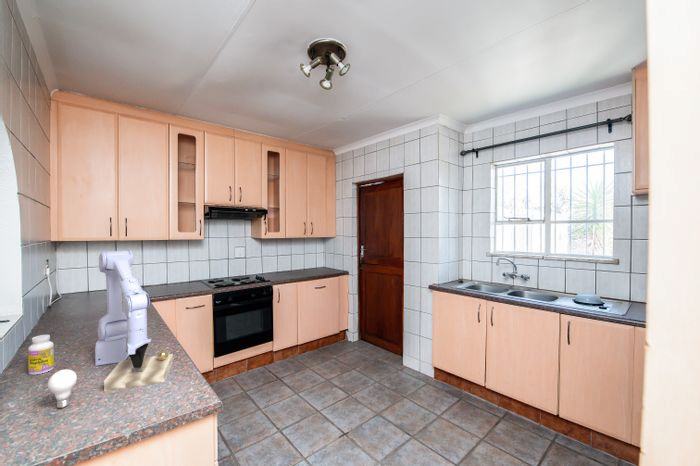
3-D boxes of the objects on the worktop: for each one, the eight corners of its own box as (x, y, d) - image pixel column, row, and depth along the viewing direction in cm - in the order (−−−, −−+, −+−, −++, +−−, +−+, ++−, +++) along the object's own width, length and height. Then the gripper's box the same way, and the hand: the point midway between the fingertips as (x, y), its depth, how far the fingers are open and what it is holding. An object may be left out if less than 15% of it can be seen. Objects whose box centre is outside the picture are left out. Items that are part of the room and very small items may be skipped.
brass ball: (156, 362, 113) (156, 353, 113) (158, 358, 116) (158, 349, 116) (167, 361, 114) (167, 351, 114) (169, 357, 117) (168, 348, 117)
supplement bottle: (24, 377, 109) (23, 341, 109) (33, 369, 115) (32, 335, 115) (50, 373, 112) (49, 338, 112) (57, 365, 118) (56, 332, 118)
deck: (104, 391, 100) (103, 380, 100) (121, 369, 115) (120, 360, 115) (164, 382, 106) (164, 372, 106) (173, 362, 121) (172, 353, 121)
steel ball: (130, 369, 106) (132, 372, 109) (130, 380, 104) (131, 382, 107) (142, 367, 108) (144, 369, 110) (142, 377, 106) (143, 379, 108)
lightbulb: (61, 401, 94) (60, 365, 94) (83, 400, 95) (82, 365, 94) (42, 414, 88) (41, 376, 88) (65, 413, 88) (65, 375, 88)
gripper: (145, 333, 102) (145, 374, 102) (155, 321, 115) (156, 356, 116) (119, 336, 99) (120, 378, 100) (133, 323, 113) (133, 359, 113)
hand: (138, 367), depth 108 cm, fingers closed
